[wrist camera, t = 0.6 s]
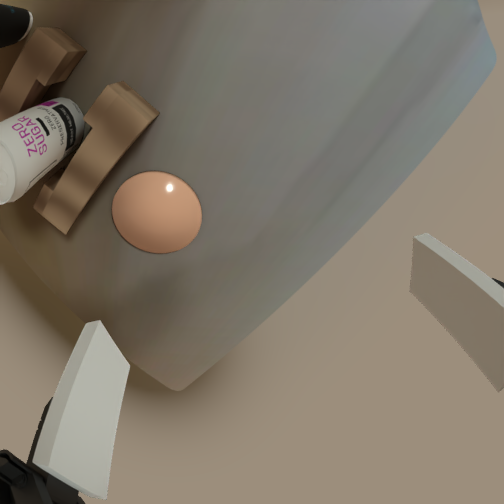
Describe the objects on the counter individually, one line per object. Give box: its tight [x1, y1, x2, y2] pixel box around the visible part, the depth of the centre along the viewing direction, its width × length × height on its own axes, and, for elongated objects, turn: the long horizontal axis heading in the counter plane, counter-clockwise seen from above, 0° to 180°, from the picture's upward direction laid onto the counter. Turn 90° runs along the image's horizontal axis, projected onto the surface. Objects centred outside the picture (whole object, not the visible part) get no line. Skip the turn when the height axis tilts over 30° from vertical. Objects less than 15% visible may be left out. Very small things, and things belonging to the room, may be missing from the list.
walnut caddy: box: [0, 27, 160, 235], centre depth 26 cm, size 20×20×5 cm
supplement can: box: [0, 97, 85, 205], centre depth 22 cm, size 8×8×15 cm
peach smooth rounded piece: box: [112, 171, 202, 253], centre depth 38 cm, size 13×13×1 cm
